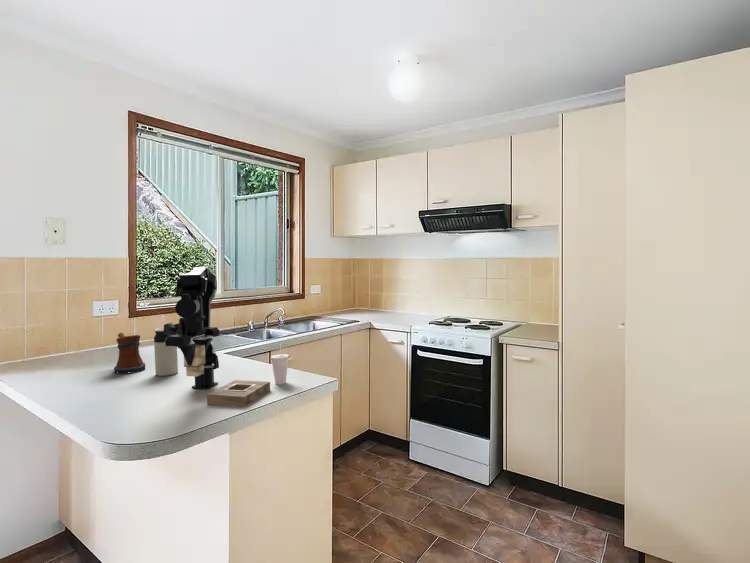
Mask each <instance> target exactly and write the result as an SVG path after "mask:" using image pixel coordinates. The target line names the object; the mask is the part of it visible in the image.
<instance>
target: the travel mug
mask: <svg viewBox="0 0 750 563" xmlns="http://www.w3.org/2000/svg"><path fill="white" fill-rule="evenodd" d="M154 333H155V334H154V337H153V344H154V345H153V347H154V366H155V367H154V368H155V375H156V376H158V377H168V376H172V375H176V374H177V373H179V365H178V364H179V363H178V362H179V361H178V347H175V346H165V339H166V338H167V336H169V335H166V334H164V327H158V328H157V327H156V328H155V329H154Z"/></svg>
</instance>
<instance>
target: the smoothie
mask: <svg viewBox="0 0 750 563" xmlns="http://www.w3.org/2000/svg"><path fill="white" fill-rule="evenodd" d="M289 359H290V356H289V354H285V353H284V354H282V343H279V354H273V355H271V356H270V361H271V364H272V371H273V376H274V383H275V385H285V384H286V383H287V374H288V364H289Z"/></svg>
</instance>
